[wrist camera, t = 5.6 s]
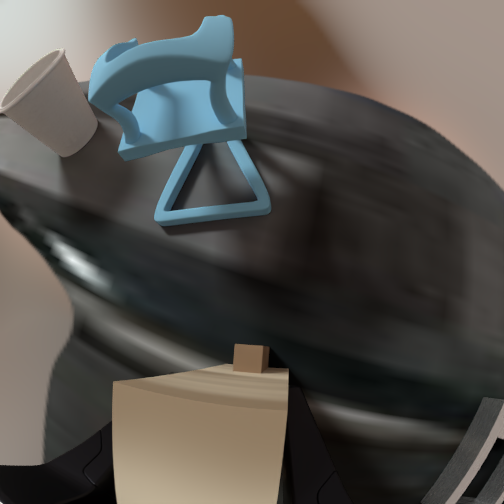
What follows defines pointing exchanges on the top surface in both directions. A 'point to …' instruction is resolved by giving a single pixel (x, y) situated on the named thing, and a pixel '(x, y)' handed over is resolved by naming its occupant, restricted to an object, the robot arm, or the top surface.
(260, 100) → the top surface
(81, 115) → the dixie cup
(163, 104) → the chair
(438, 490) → the socket plate
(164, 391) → the keyed post
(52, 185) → the top surface
